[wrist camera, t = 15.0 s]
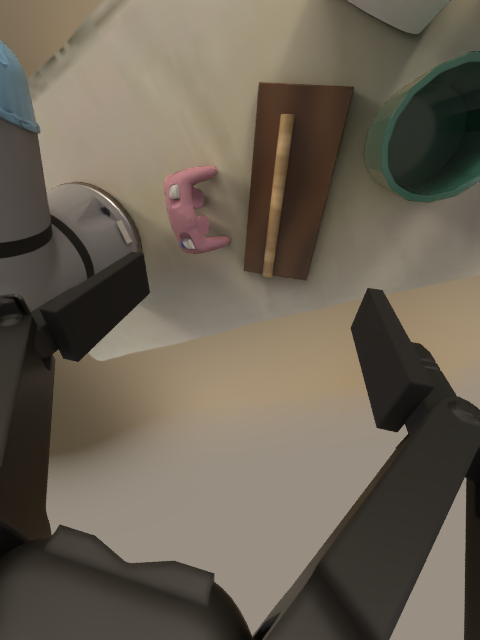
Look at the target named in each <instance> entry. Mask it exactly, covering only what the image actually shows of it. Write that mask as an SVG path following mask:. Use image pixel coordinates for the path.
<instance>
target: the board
mask: <svg viewBox="0 0 480 640" xmlns="http://www.w3.org/2000/svg"><path fill="white" fill-rule="evenodd" d="M353 90H354V87H346V86H325V85H304V84H283V83H262V82H260V83H259V90H258V102H257V115H256V127H255V139H254V152H253V164H252V176H251V189H250V201H249V213H248V226H247V238H246V250H245V262H244V271H249V272H255V273H261V274H263V265H264V257H265V248H266V239H267V230H268V222H269V213H270V204H271V195H272V187H273V178H274V169H275V161H276V152H277V143H278V134H279V126H280V117H281V114H292V115H295V118H294V125H293V133H292V140H291V147H290V154H289V161H288V168H287V175H286V182H285V189H284V196H283V204H282V211H281V218H280V225H279V232H278V239H277V246H276V253H275V260H274V268H273V275H274V276H281V277H287V278H294V279H300V280H306V279H307V275H308V271H309V267H310V263H311V259H312V255H313V251H314V247H315V243H316V239H317V235H318V231H319V227H320V223H321V219H322V215H323V211H324V207H325V203H326V199H327V195H328V191H329V187H330V183H331V179H332V175H333V171H334V166H335V162H336V158H337V154H338V150H339V146H340V142H341V138H342V134H343V130H344V126H345V122H346V118H347V114H348V110H349V106H350V102H351V98H352V94H353Z"/></svg>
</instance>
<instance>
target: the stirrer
mask: <svg viewBox="0 0 480 640" xmlns="http://www.w3.org/2000/svg"><path fill="white" fill-rule="evenodd" d="M294 118H295V115H292V114H281V117H280V126H279V134H278V143H277V152H276V161H275V169H274V178H273V187H272V195H271V204H270V213H269V222H268V230H267V239H266V248H265V257H264V265H263V274H262V275H263V277H266V278H271V277H272V275H273V268H274V260H275V253H276V246H277V239H278V232H279V225H280V218H281V211H282V204H283V196H284V189H285V182H286V175H287V168H288V161H289V154H290V147H291V140H292V133H293V125H294Z"/></svg>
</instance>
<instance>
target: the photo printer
mask: <svg viewBox="0 0 480 640" xmlns="http://www.w3.org/2000/svg"><path fill="white" fill-rule="evenodd" d="M347 1H349V2H350V3H352V4H353V5H355V6H356V7H358V8H360V9H362V10H363V11H365V12H367V13H369V14H370V15H372V16H374V17H376V18H378V19H380V20H382V21H383V22H385V23H387V24H389V25H391V26H393V27H395V28H397V29H400V30H402V31H404V32H407V33H411V34H419V33H420V32H421V31H422V30H423V29H424V28H425V27H426V26H427V25H428V24H429V23H430V22H431V21H432V20H433V19H434V18H435V17H436V16H437V14H438V13H439V12H440V11H441V10H442V9H443V8H444V7H445V6H446V5H447V4H448V3H449V2H450V1H451V0H347Z"/></svg>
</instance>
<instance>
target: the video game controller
mask: <svg viewBox="0 0 480 640" xmlns="http://www.w3.org/2000/svg"><path fill="white" fill-rule="evenodd" d="M217 172H218V169H217V168H216V167H213V166H199V167H193V168H189V169H185V170H183V171H180V172H177V173H174V174H171V175H168V176H167V177H166V179H165V181H164V193H165V196H166V205H167V211H168V216H169V220H170V223H171V226H172V229H173V231H174V233H175V235H176V237H177V239H178V241H179V244H180V247H181V248H182V250H183V251H185V252H186V253H192V254H199V253H205V252H209V251H212V250H216V249H219V248H222V247H224V246H226V245H228V244H229V243H230V242H231V239H230V238H229V237H225V236H213V237H205V235H206V233H207V232H208V230H209V228H210V222H209V220H208V218H207V217H206V216H204V215H200V216H196V213H195V210H194V208H196V209H197V208H201V207H202V206H203V204H204V196H203V193H202V192H201V191H200V190H199V189H196V188H194V187H193V186H194V185H196V184H197V183H199V182H202V181H204V180H207V179H210V178H212V177H213V176H215V175H216V174H217Z"/></svg>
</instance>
